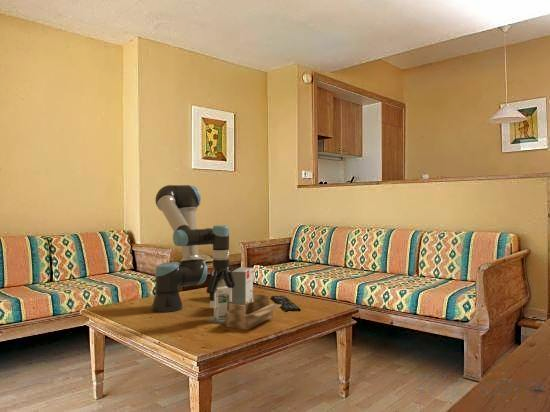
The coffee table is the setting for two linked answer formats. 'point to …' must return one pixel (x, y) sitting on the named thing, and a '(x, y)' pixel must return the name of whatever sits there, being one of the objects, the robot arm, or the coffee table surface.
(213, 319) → the plate
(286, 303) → the remote control
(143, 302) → the coffee table surface
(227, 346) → the coffee table surface
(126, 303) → the coffee table surface
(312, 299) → the coffee table surface
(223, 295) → the syrup box
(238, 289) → the hard drive box
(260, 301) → the light wood open box
